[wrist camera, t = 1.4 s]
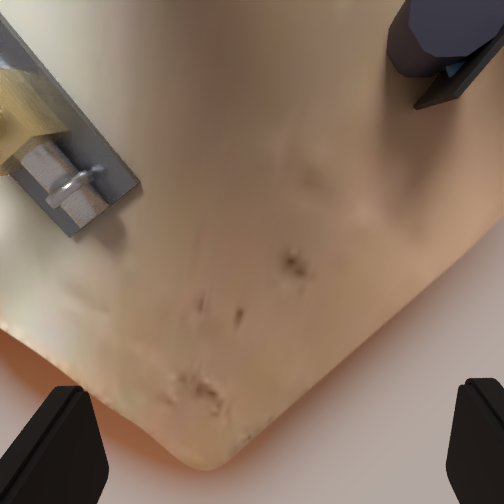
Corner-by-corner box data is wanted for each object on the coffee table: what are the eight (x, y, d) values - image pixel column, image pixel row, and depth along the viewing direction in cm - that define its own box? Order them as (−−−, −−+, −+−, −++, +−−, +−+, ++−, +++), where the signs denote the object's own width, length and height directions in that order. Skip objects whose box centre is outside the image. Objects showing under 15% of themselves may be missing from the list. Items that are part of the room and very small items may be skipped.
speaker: (482, 68, 31) (560, 42, 21) (414, 111, 33) (458, 105, 23) (439, -21, 29) (501, -92, 20) (370, 28, 31) (397, -15, 21)
